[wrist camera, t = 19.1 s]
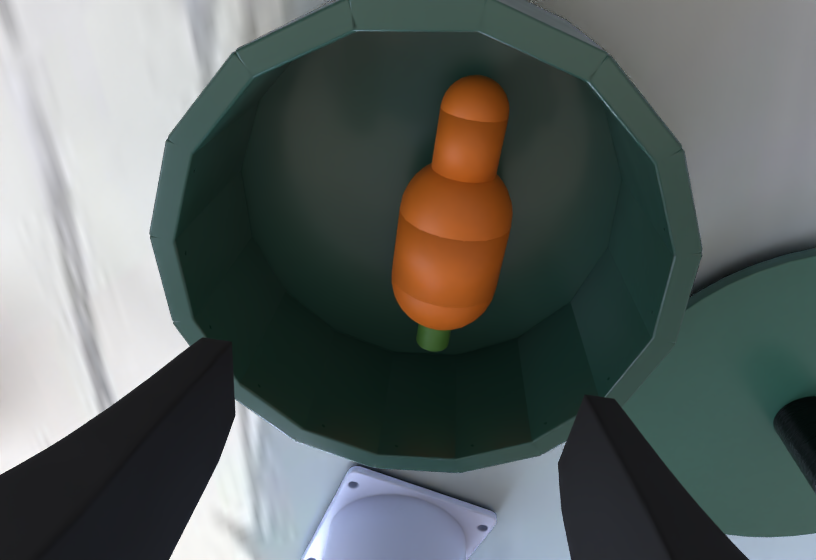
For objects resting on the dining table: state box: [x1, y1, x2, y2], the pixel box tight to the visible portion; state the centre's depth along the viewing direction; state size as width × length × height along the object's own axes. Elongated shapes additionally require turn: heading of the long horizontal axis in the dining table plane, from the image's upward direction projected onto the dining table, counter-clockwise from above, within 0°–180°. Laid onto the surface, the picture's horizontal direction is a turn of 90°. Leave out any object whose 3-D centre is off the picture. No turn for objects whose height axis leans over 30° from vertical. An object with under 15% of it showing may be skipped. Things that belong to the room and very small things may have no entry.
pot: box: [149, 0, 702, 473], centre depth 18 cm, size 14×14×6 cm
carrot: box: [392, 75, 513, 352], centre depth 18 cm, size 10×4×4 cm
